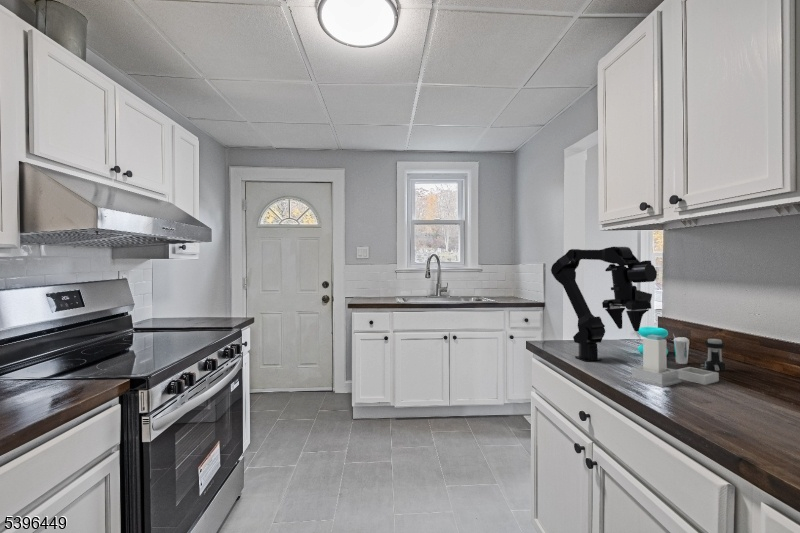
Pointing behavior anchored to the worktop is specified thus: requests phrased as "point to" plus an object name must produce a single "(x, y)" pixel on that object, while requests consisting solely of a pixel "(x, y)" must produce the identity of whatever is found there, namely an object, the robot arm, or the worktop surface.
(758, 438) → the worktop surface
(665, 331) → the donuts
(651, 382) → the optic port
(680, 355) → the milkshake
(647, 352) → the plug
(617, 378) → the worktop surface
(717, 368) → the black and grey device
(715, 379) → the grey square tray
